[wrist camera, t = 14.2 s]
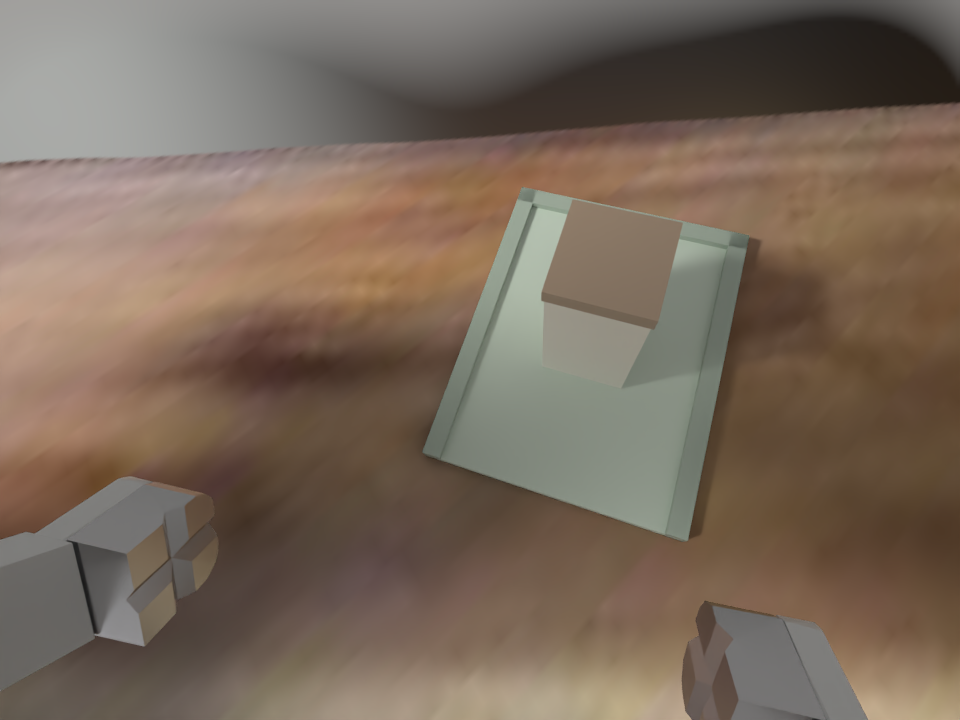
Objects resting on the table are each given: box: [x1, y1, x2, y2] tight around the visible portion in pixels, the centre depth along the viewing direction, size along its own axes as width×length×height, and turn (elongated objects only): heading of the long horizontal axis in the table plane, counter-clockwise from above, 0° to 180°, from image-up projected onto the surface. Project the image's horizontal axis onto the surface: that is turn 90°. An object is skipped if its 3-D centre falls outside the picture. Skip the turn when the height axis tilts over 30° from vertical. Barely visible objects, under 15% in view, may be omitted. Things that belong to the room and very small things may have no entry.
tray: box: [422, 187, 749, 542], centre depth 30 cm, size 14×18×1 cm
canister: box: [541, 199, 683, 389], centre depth 26 cm, size 5×5×9 cm
